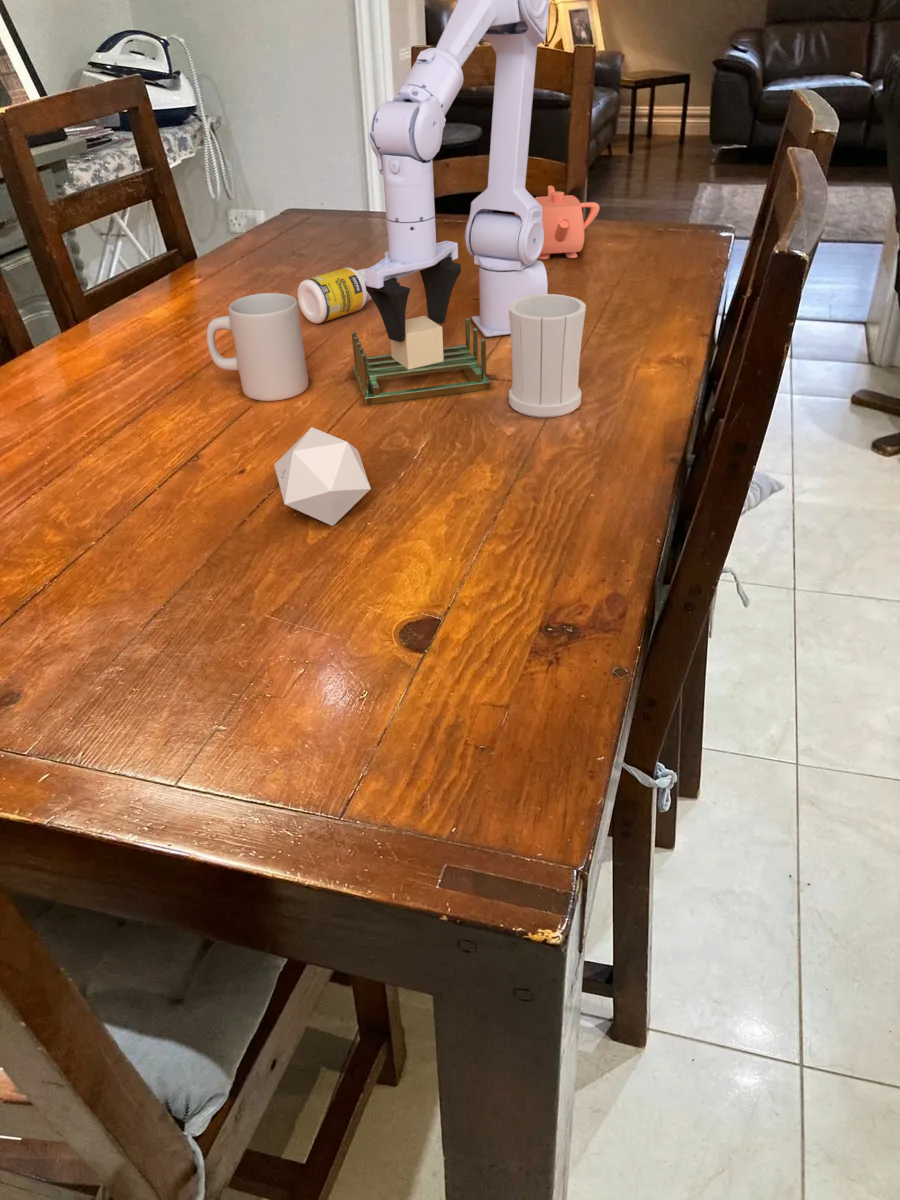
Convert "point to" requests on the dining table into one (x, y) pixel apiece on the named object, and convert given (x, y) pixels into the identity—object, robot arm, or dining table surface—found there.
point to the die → (322, 476)
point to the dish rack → (420, 371)
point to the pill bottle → (333, 294)
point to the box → (419, 344)
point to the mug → (264, 346)
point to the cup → (546, 354)
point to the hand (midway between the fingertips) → (417, 330)
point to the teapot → (563, 223)
